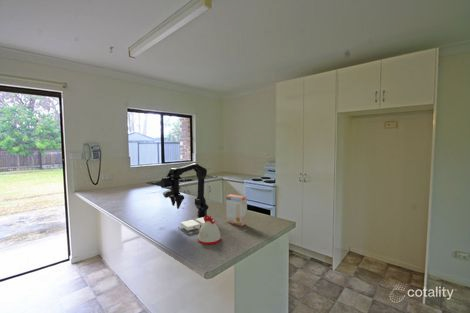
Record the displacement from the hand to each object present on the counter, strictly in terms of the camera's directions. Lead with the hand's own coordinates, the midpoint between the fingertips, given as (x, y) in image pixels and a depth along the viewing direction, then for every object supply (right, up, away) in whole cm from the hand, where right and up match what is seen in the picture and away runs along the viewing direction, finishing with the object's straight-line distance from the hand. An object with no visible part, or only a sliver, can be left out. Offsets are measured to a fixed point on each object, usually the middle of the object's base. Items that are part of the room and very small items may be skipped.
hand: (175, 207), depth 156 cm
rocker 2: (+21, -10, -2) cm, 23 cm away
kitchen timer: (+27, -15, -23) cm, 38 cm away
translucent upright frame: (+43, -13, +5) cm, 46 cm away
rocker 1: (+12, -10, -8) cm, 18 cm away
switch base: (+17, -14, -5) cm, 22 cm away
